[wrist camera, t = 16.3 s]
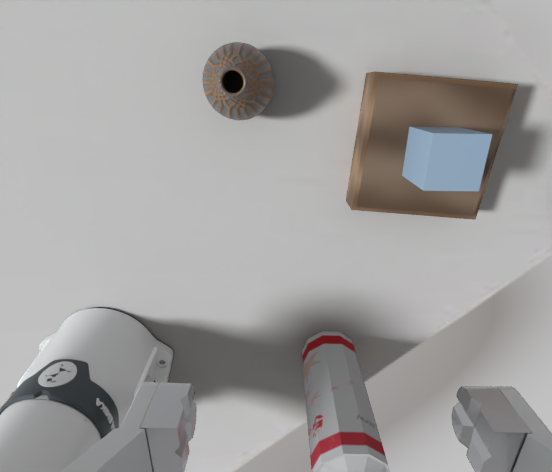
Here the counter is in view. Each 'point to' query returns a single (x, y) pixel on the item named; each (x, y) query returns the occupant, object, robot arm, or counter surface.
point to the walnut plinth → (394, 133)
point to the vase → (238, 81)
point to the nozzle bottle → (339, 408)
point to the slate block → (446, 158)
